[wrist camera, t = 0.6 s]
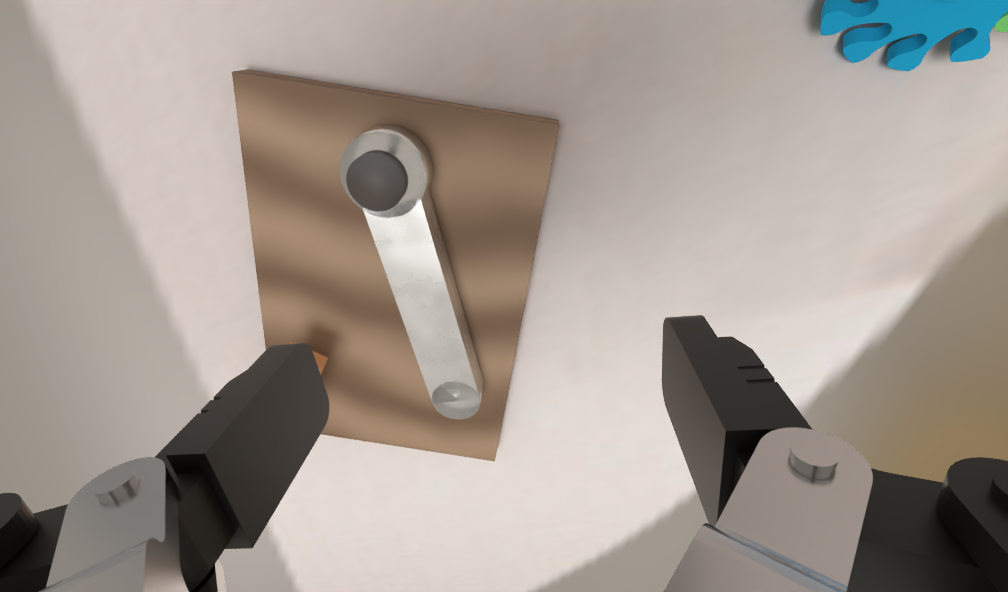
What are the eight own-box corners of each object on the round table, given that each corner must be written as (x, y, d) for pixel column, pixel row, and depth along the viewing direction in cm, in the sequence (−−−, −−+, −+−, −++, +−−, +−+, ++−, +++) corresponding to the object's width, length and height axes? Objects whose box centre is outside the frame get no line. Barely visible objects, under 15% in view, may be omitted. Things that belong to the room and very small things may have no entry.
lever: (341, 134, 26) (326, 141, 24) (419, 117, 25) (410, 123, 23) (436, 402, 34) (430, 422, 33) (496, 395, 34) (494, 415, 32)
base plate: (247, 69, 26) (188, 77, 22) (558, 120, 26) (561, 138, 22) (284, 413, 38) (251, 463, 34) (496, 446, 38) (490, 500, 34)
